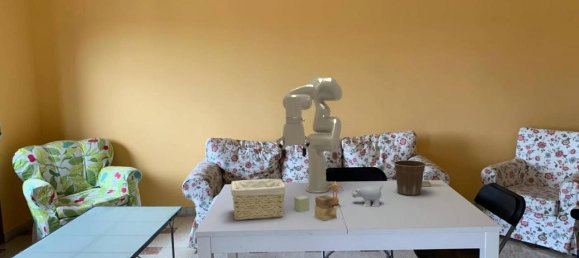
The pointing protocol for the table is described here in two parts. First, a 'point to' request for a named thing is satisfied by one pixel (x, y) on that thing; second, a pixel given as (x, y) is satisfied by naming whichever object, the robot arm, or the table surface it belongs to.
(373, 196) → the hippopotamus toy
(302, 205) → the sage block
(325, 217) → the oak block
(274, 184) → the storage basket
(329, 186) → the figurine
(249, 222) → the table surface
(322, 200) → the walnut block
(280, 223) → the table surface
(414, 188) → the plant pot
